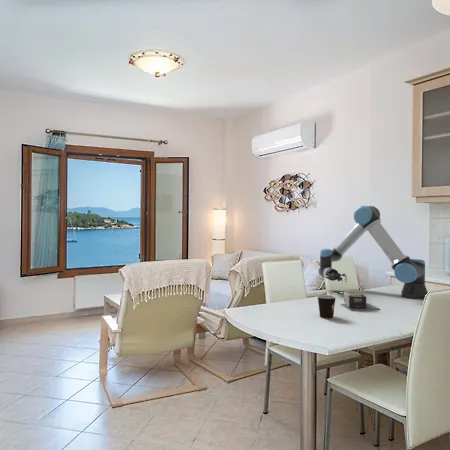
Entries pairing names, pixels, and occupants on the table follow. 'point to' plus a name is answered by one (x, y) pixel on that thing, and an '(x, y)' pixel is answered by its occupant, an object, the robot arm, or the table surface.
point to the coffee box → (355, 300)
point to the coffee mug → (326, 306)
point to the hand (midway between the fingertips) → (345, 279)
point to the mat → (368, 307)
